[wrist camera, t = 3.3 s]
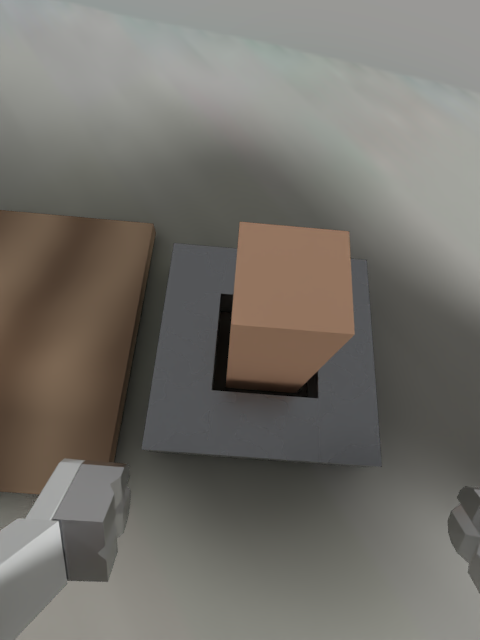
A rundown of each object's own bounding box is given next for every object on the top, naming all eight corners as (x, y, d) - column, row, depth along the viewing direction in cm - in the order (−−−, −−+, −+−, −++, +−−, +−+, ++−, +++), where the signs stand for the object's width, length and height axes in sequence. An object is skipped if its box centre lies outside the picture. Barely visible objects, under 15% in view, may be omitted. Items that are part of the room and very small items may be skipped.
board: (155, 232, 25) (153, 223, 24) (107, 496, 19) (101, 498, 18) (-12, 218, 24) (-21, 208, 23) (-115, 481, 18) (-133, 482, 17)
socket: (352, 279, 24) (366, 259, 22) (362, 466, 20) (381, 466, 18) (178, 264, 24) (173, 243, 22) (150, 451, 20) (141, 449, 17)
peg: (295, 328, 23) (349, 231, 13) (295, 393, 21) (354, 334, 12) (231, 322, 23) (239, 221, 13) (225, 387, 21) (231, 324, 12)
